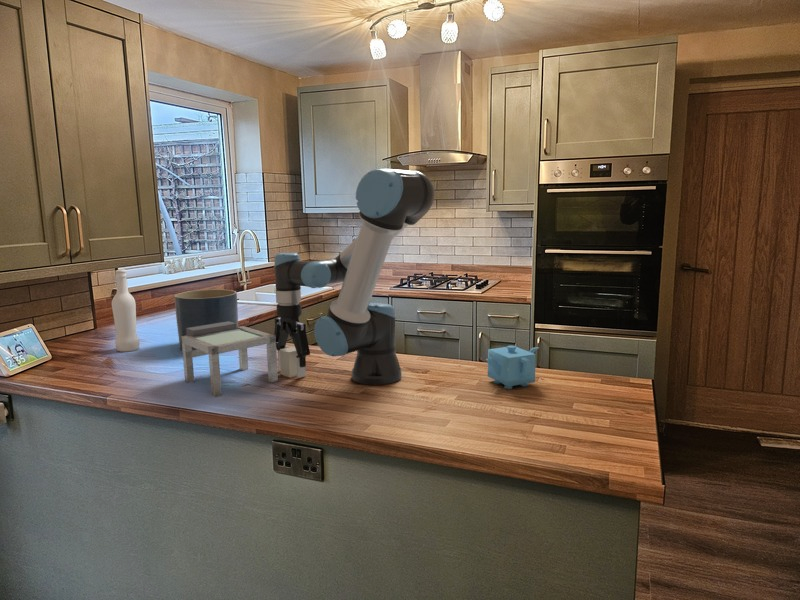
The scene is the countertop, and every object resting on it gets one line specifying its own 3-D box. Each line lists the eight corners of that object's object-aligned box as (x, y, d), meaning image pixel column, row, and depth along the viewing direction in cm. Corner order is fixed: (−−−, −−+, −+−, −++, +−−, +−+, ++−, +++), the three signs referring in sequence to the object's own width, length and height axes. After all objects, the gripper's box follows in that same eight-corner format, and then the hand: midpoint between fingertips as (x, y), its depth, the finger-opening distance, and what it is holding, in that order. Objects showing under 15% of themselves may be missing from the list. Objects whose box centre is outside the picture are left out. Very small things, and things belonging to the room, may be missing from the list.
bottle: (110, 351, 205) (102, 270, 200) (128, 346, 212) (121, 268, 207) (127, 353, 202) (119, 271, 197) (144, 347, 209) (137, 268, 204)
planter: (238, 337, 225) (235, 288, 222) (241, 350, 204) (237, 296, 201) (180, 341, 218) (176, 291, 215) (176, 355, 198) (172, 300, 194)
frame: (277, 381, 167) (275, 335, 165) (214, 397, 154) (211, 348, 151) (245, 367, 182) (242, 325, 179) (185, 381, 168) (181, 336, 166)
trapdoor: (263, 346, 166) (262, 330, 165) (215, 356, 156) (214, 339, 155) (231, 336, 181) (230, 321, 180) (185, 344, 170) (184, 328, 170)
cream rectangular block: (303, 374, 174) (302, 349, 173) (289, 377, 171) (288, 352, 169) (294, 370, 178) (293, 346, 176) (281, 374, 174) (279, 349, 173)
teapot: (472, 380, 166) (472, 343, 164) (522, 372, 173) (523, 337, 171) (502, 396, 151) (503, 356, 149) (555, 387, 158) (557, 349, 156)
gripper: (320, 306, 165) (323, 378, 169) (280, 297, 181) (283, 363, 185) (298, 309, 160) (302, 383, 164) (259, 300, 176) (263, 368, 180)
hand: (292, 373), depth 174 cm, fingers open, 10 cm apart
